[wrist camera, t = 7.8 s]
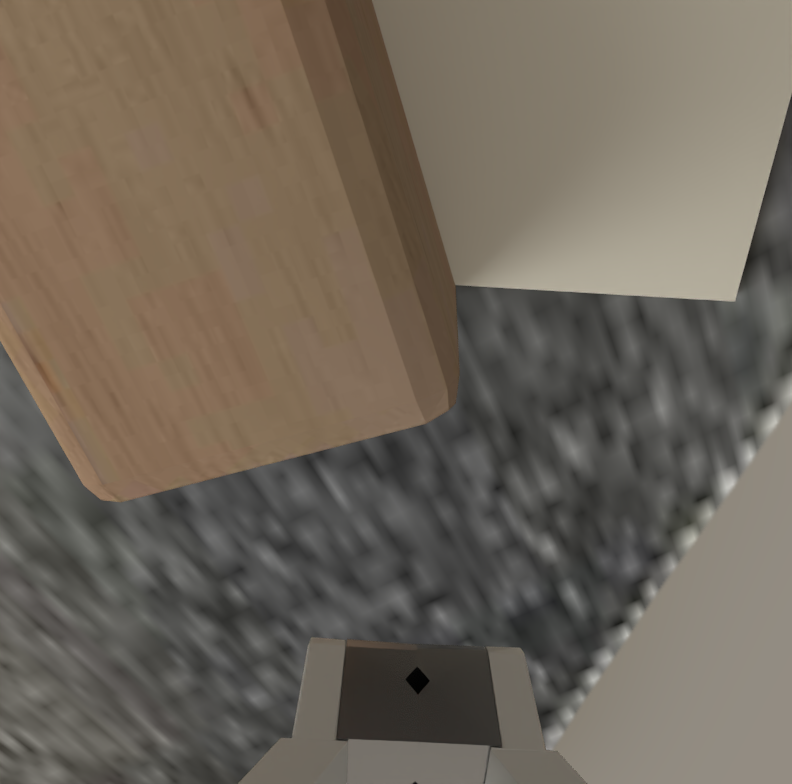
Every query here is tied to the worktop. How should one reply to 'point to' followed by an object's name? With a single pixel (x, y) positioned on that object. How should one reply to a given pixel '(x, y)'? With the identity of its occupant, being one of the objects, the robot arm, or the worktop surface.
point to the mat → (594, 136)
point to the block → (214, 236)
